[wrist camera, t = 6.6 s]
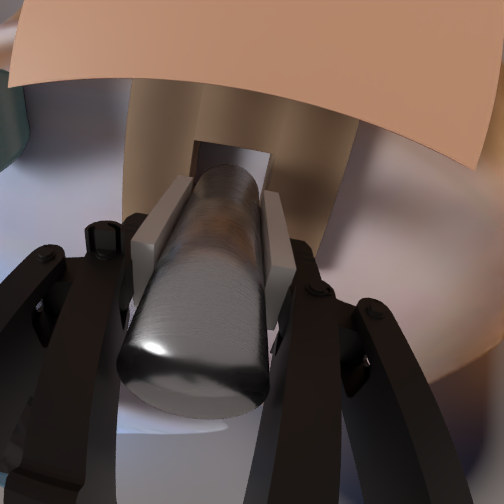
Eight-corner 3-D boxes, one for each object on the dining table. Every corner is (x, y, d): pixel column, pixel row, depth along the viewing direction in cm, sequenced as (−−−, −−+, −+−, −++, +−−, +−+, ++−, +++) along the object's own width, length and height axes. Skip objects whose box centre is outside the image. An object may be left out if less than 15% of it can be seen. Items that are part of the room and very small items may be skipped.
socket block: (135, 239, 23) (123, 258, 21) (150, 66, 16) (135, 63, 13) (298, 266, 25) (303, 288, 22) (348, 103, 18) (363, 105, 15)
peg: (191, 217, 17) (126, 404, 7) (200, 159, 15) (104, 319, 5) (251, 228, 17) (252, 425, 7) (264, 170, 16) (290, 351, 5)
